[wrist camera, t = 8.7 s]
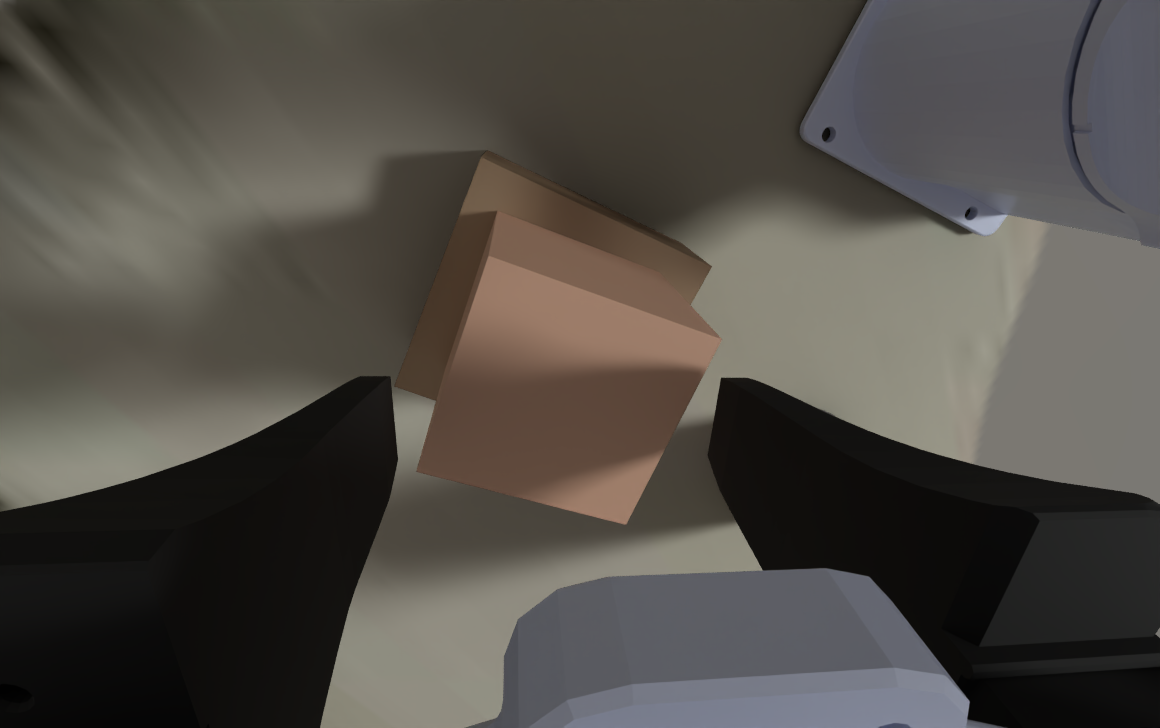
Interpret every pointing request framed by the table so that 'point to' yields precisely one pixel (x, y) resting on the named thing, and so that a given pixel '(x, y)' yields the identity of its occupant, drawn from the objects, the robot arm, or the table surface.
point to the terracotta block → (564, 374)
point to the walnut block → (541, 206)
